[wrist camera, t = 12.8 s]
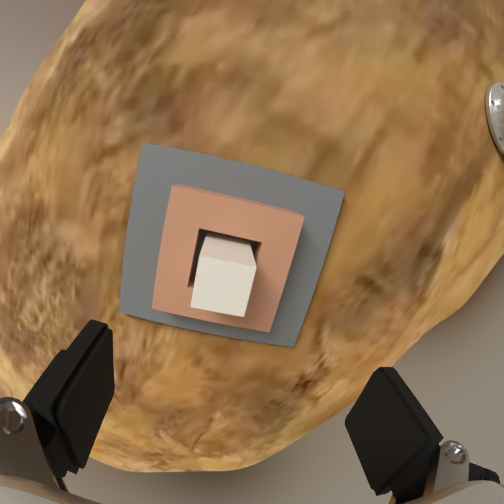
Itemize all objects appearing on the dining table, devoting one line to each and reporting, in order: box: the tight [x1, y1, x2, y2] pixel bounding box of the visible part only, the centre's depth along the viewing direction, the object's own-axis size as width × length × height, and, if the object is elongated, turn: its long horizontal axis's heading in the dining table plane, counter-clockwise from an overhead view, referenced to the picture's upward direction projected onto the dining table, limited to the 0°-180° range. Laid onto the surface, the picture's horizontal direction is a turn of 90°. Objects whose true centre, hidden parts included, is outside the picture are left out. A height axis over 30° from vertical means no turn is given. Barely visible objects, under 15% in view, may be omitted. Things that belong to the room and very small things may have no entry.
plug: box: [190, 231, 257, 317], centre depth 24 cm, size 4×4×8 cm
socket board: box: [119, 143, 345, 347], centre depth 27 cm, size 20×18×4 cm
